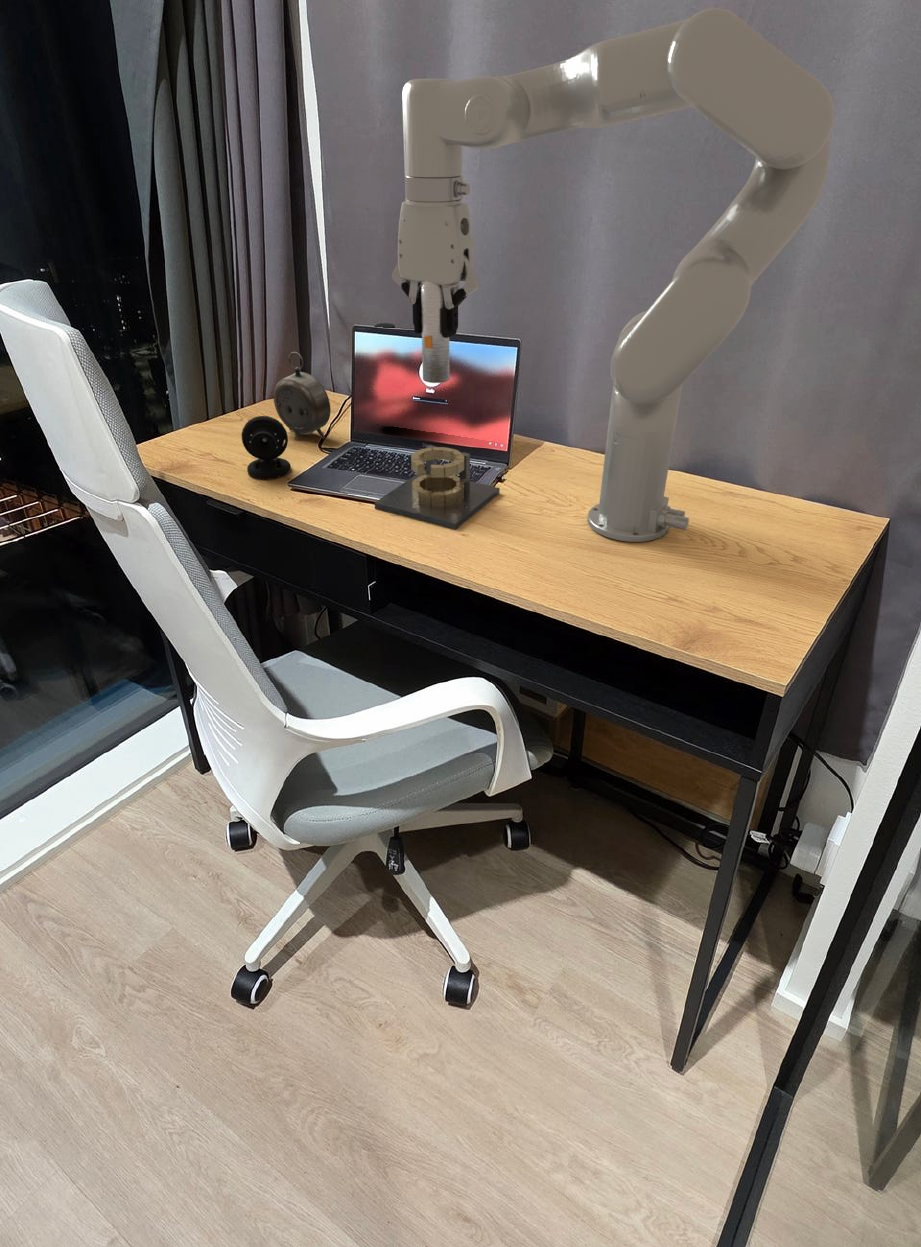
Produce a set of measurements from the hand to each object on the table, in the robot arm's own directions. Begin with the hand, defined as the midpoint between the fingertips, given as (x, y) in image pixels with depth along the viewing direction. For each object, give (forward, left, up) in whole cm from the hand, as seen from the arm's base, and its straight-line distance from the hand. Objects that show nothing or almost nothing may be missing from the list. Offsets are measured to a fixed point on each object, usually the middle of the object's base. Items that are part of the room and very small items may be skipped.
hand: (435, 332), depth 115 cm
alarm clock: (+37, -11, -27) cm, 47 cm away
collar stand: (0, 0, -27) cm, 27 cm away
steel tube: (0, 0, -7) cm, 7 cm away
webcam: (+32, +5, -27) cm, 42 cm away
